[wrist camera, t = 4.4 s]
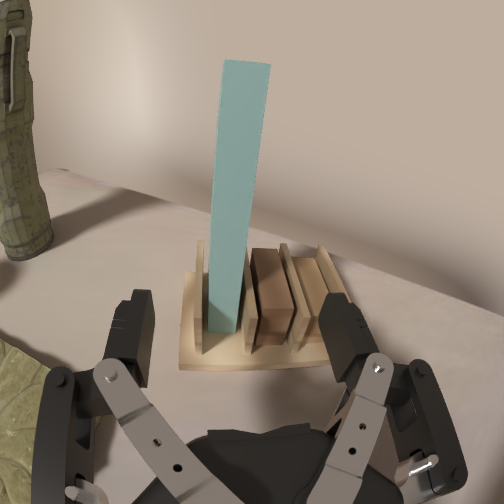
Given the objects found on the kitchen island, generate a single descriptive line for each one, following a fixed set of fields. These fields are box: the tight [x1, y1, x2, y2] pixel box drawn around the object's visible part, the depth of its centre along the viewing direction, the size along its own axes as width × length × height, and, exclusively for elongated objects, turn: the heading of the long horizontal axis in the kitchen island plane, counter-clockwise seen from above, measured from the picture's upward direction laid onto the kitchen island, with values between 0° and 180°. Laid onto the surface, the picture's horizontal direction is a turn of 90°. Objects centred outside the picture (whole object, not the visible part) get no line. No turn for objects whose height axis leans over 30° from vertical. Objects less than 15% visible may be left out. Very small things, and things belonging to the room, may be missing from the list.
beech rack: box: [179, 240, 352, 371], centre depth 28 cm, size 16×12×6 cm
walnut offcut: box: [250, 248, 294, 346], centre depth 27 cm, size 2×8×5 cm, turn 6°
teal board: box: [208, 60, 271, 333], centre depth 22 cm, size 2×5×22 cm, turn 6°
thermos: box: [0, 0, 54, 261], centre depth 24 cm, size 9×12×35 cm
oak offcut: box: [291, 257, 329, 344], centre depth 28 cm, size 2×8×4 cm, turn 6°
